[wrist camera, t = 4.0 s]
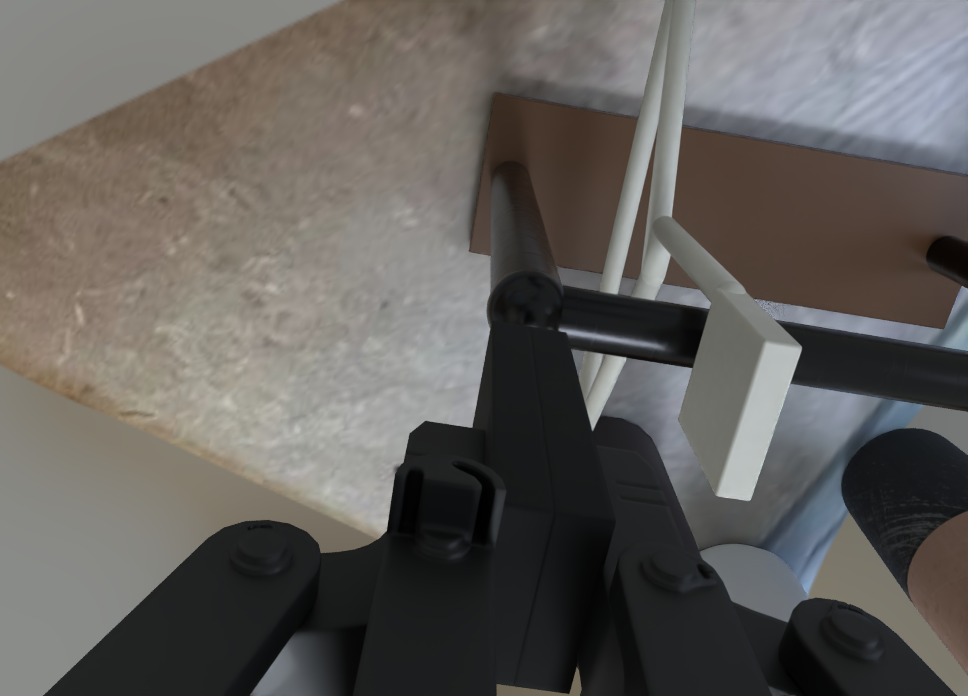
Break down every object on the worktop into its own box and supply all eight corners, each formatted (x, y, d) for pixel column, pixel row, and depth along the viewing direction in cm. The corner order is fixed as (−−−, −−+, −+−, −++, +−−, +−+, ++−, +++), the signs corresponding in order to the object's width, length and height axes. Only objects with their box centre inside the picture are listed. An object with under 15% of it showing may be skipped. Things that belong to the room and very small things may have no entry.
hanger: (681, -78, 28) (953, -251, 12) (702, -74, 28) (1003, -241, 12) (557, 463, 37) (613, 816, 20) (574, 466, 37) (643, 820, 20)
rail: (494, 92, 39) (498, 151, 18) (986, 177, 41) (1546, 330, 19) (469, 245, 42) (447, 457, 21) (929, 320, 43) (1360, 593, 22)
